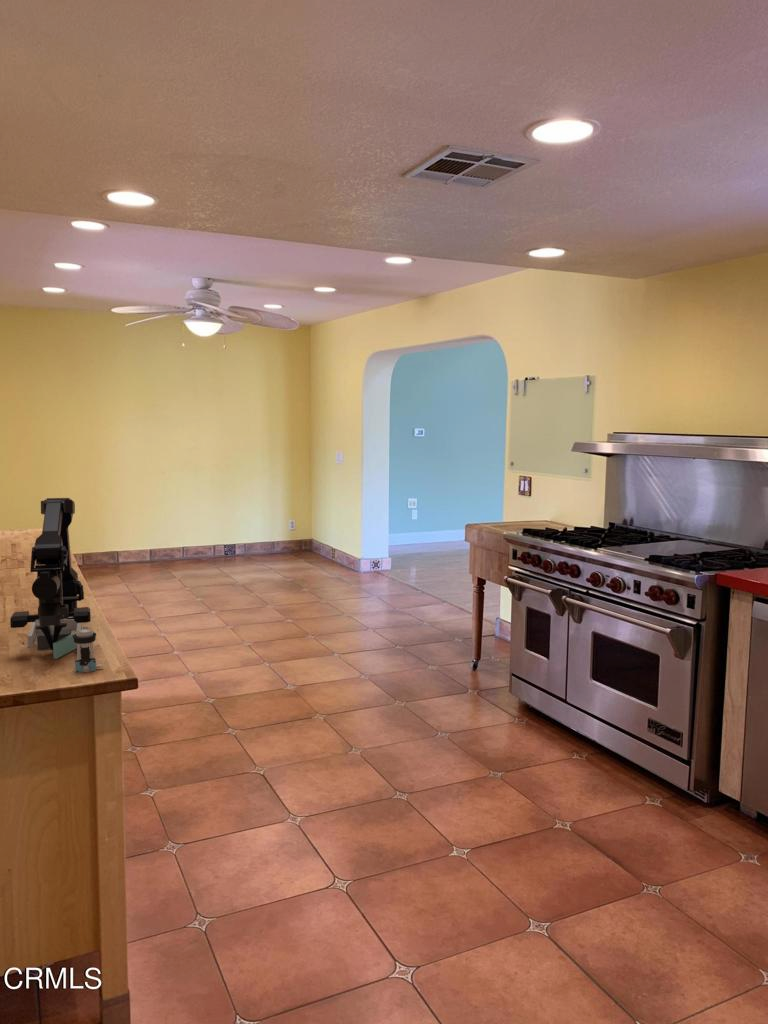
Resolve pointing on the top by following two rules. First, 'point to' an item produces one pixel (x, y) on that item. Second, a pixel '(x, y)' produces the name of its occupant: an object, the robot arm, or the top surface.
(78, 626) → the frame
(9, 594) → the top surface
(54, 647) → the bar
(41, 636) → the block
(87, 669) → the push button
